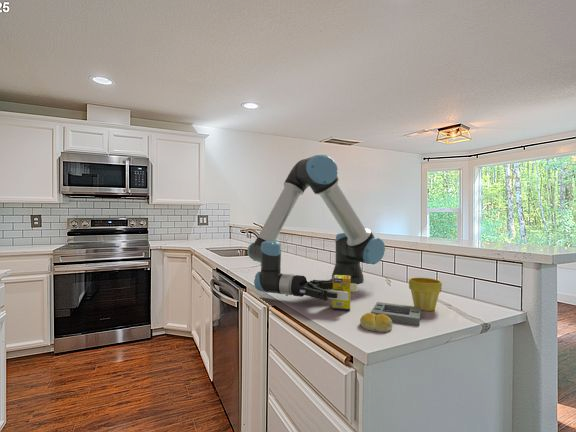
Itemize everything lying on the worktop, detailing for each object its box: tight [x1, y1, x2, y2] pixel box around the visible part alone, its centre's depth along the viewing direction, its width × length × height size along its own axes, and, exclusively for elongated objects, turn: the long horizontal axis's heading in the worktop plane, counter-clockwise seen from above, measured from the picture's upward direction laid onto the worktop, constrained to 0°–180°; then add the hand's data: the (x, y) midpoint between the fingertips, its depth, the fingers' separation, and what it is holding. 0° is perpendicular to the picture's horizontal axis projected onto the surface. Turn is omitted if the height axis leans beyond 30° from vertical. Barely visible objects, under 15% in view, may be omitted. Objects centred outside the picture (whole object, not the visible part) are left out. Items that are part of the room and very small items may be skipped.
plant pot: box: [408, 276, 443, 312], centre depth 109 cm, size 10×10×10 cm
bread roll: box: [359, 312, 393, 333], centre depth 91 cm, size 8×9×4 cm
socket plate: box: [370, 301, 422, 326], centre depth 101 cm, size 12×14×2 cm
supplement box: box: [332, 275, 352, 312], centre depth 108 cm, size 6×6×11 cm
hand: (352, 292), depth 107 cm, fingers open, 12 cm apart
